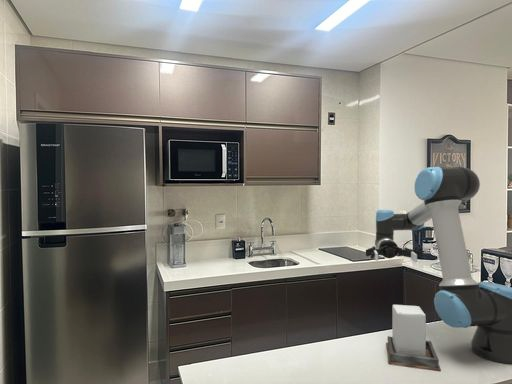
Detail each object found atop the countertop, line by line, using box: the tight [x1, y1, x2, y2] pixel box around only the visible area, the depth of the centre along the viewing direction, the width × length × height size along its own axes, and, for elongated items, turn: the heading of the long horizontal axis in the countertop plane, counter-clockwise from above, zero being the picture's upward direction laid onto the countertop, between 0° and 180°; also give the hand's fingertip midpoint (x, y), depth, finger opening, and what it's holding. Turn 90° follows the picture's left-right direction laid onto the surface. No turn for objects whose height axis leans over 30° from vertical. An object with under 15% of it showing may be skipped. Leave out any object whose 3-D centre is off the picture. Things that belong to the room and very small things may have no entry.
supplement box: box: [391, 304, 427, 357], centre depth 118 cm, size 9×9×15 cm
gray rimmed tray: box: [385, 335, 442, 372], centre depth 118 cm, size 15×15×3 cm
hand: (396, 257), depth 131 cm, fingers open, 13 cm apart
